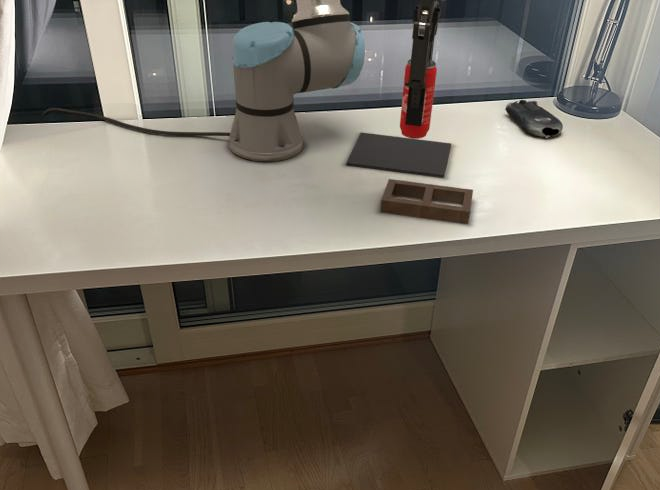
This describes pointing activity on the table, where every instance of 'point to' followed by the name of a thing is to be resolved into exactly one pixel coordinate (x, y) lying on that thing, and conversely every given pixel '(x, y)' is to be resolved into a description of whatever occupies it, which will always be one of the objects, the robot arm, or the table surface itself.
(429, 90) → the beverage can
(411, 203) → the tray
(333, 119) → the table surface
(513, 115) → the electronic device
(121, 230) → the table surface
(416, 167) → the mat
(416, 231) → the table surface
